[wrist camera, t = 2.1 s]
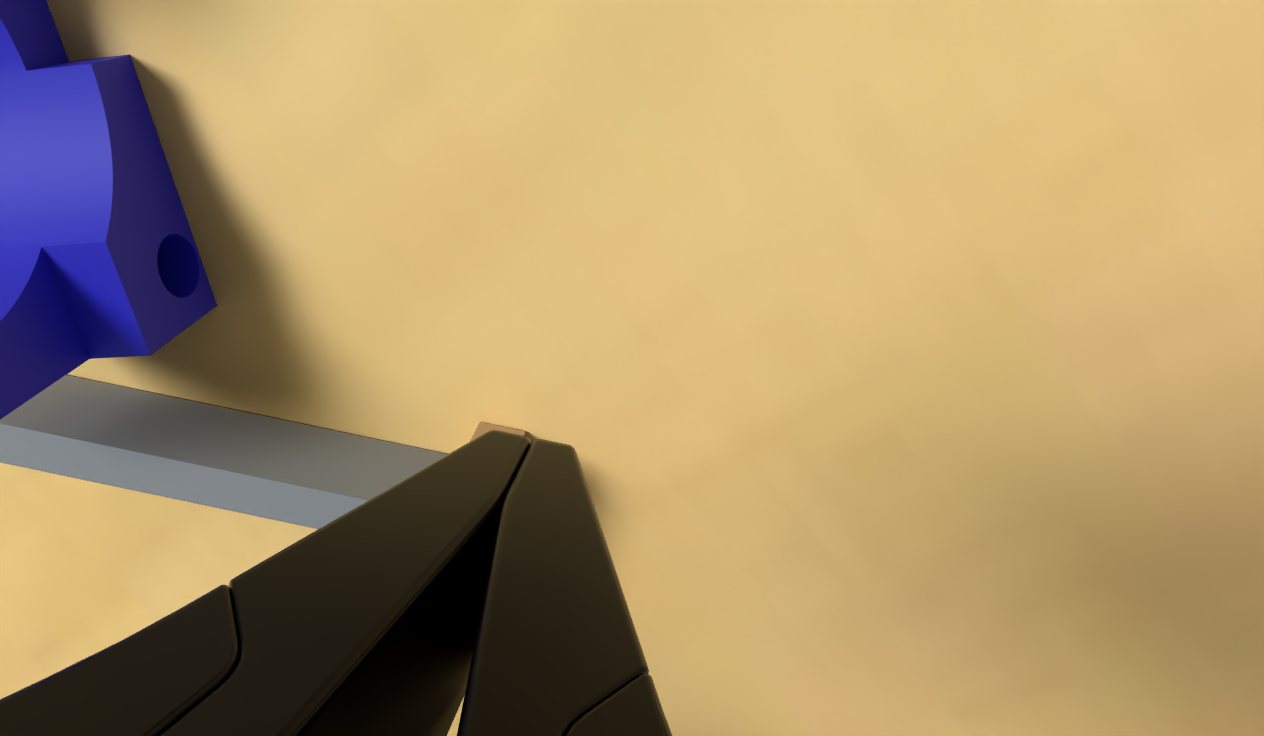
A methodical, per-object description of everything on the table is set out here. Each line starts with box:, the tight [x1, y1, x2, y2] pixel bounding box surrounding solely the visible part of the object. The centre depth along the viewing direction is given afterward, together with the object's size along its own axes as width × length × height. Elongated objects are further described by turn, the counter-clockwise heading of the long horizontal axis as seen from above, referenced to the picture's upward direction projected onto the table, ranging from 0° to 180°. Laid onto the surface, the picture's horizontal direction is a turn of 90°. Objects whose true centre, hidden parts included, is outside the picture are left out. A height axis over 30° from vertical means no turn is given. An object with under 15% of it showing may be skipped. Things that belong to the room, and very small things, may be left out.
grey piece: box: [0, 375, 525, 529], centre depth 18 cm, size 21×17×2 cm
